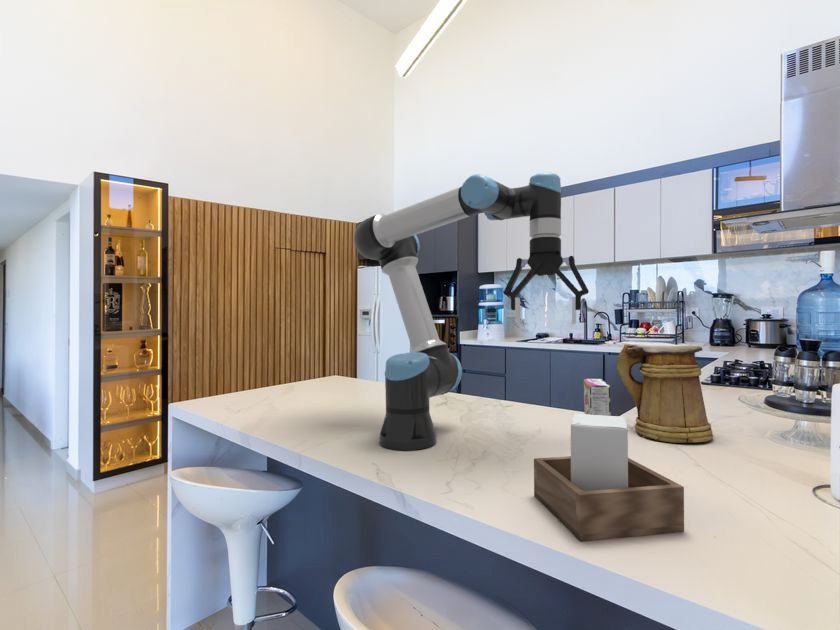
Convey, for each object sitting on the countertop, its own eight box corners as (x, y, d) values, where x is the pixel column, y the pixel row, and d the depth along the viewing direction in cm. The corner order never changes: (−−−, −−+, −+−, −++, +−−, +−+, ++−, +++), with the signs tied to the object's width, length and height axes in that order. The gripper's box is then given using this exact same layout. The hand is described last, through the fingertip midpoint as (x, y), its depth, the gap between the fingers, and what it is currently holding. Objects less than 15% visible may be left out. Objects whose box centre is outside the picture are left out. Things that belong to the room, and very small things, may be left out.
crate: (580, 541, 69) (579, 494, 69) (534, 495, 86) (533, 458, 86) (684, 531, 72) (683, 486, 72) (619, 489, 89) (619, 453, 89)
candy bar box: (583, 439, 124) (582, 378, 124) (603, 440, 123) (602, 378, 123) (590, 451, 113) (589, 384, 113) (611, 452, 112) (611, 385, 112)
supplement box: (629, 522, 73) (628, 428, 73) (570, 513, 76) (569, 423, 76) (626, 500, 81) (626, 415, 81) (573, 493, 85) (572, 412, 85)
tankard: (714, 449, 114) (713, 348, 113) (612, 436, 126) (611, 345, 126) (712, 432, 129) (711, 343, 129) (621, 422, 141) (621, 341, 141)
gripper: (599, 237, 113) (599, 323, 113) (498, 242, 122) (498, 322, 122) (599, 232, 106) (599, 324, 106) (492, 238, 115) (492, 323, 115)
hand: (545, 323), depth 114 cm, fingers open, 13 cm apart
